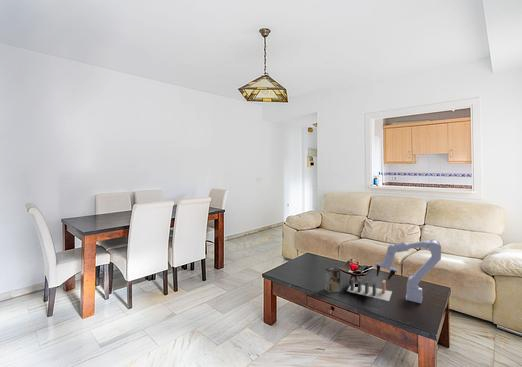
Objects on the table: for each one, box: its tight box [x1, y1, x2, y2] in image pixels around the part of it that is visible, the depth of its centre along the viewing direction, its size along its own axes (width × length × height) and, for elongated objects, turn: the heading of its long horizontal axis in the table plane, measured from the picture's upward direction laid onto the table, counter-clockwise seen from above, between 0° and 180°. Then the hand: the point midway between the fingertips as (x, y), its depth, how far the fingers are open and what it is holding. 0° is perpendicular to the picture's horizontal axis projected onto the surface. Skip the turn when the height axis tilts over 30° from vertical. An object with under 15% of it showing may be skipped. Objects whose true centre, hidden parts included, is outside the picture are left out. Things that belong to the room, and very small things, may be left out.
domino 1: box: [350, 276, 356, 291], centre depth 200 cm, size 2×5×8 cm, turn 147°
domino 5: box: [381, 279, 387, 294], centre depth 195 cm, size 2×5×8 cm, turn 147°
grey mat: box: [346, 284, 393, 302], centre depth 197 cm, size 28×16×1 cm, turn 57°
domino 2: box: [357, 278, 363, 292], centre depth 197 cm, size 2×5×8 cm, turn 147°
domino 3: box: [364, 279, 370, 294], centre depth 194 cm, size 2×5×8 cm, turn 148°
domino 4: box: [372, 281, 378, 296], centre depth 192 cm, size 2×5×8 cm, turn 147°
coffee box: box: [324, 266, 341, 294], centre depth 198 cm, size 9×6×16 cm
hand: (382, 277), depth 195 cm, fingers open, 7 cm apart
